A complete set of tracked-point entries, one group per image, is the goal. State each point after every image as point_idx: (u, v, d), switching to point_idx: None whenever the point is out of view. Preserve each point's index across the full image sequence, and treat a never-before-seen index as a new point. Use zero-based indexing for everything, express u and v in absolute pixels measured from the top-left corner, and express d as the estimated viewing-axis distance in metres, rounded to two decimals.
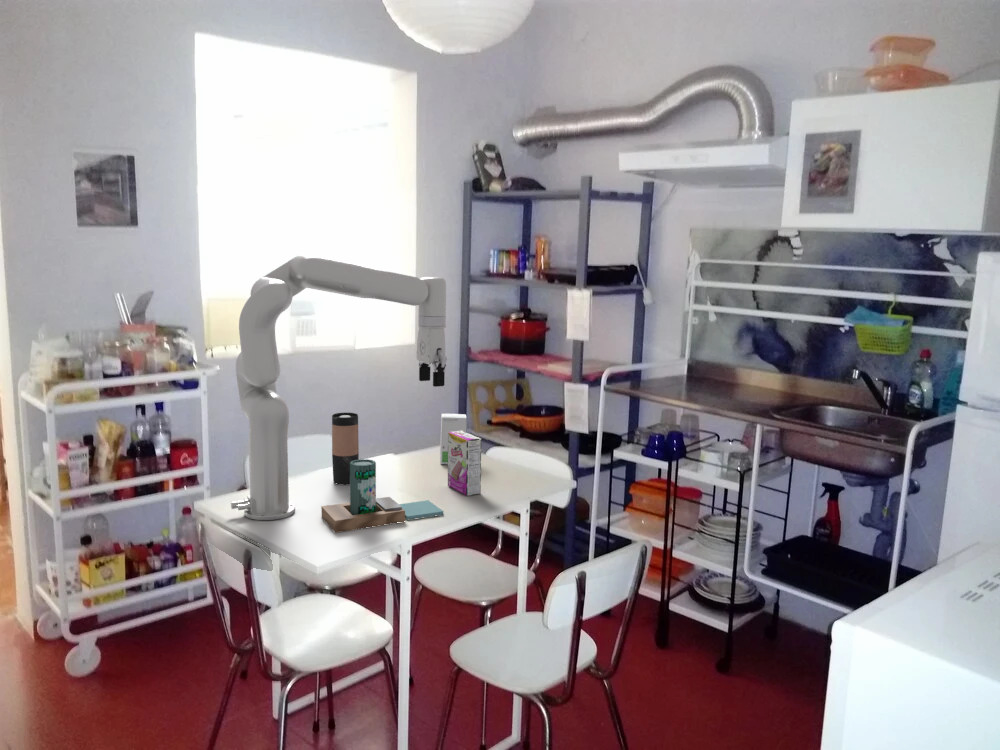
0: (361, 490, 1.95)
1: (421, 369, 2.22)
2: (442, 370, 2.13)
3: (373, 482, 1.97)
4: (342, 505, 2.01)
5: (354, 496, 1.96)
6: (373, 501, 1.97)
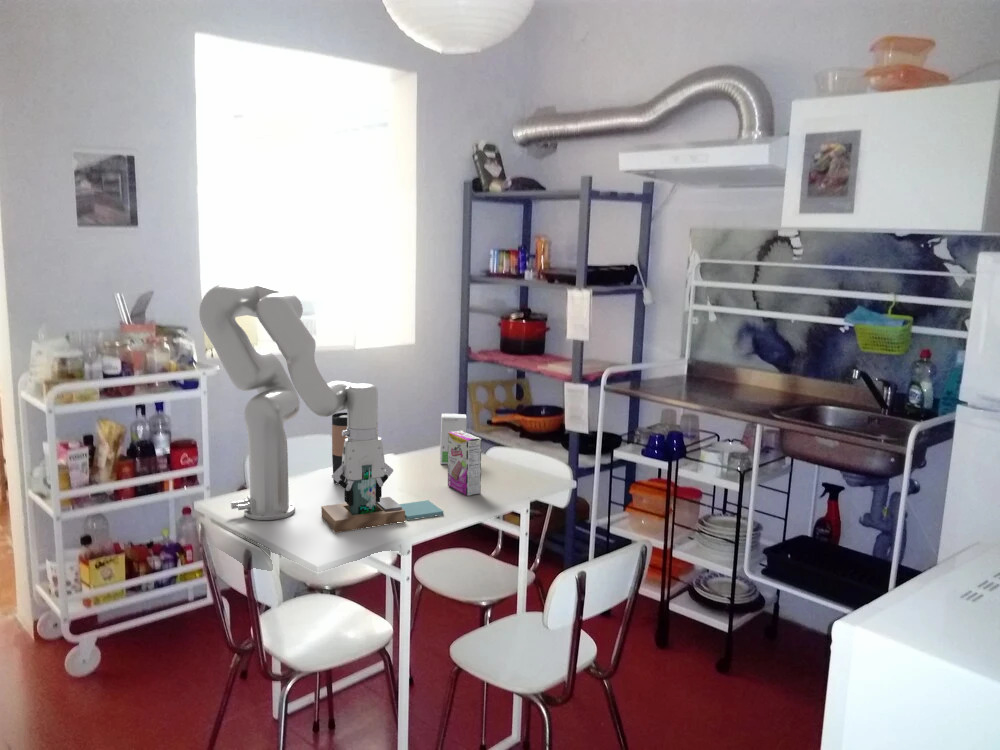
0: (361, 490, 1.95)
1: None
2: None
3: (373, 482, 1.97)
4: (342, 505, 2.01)
5: (354, 496, 1.96)
6: (373, 501, 1.97)
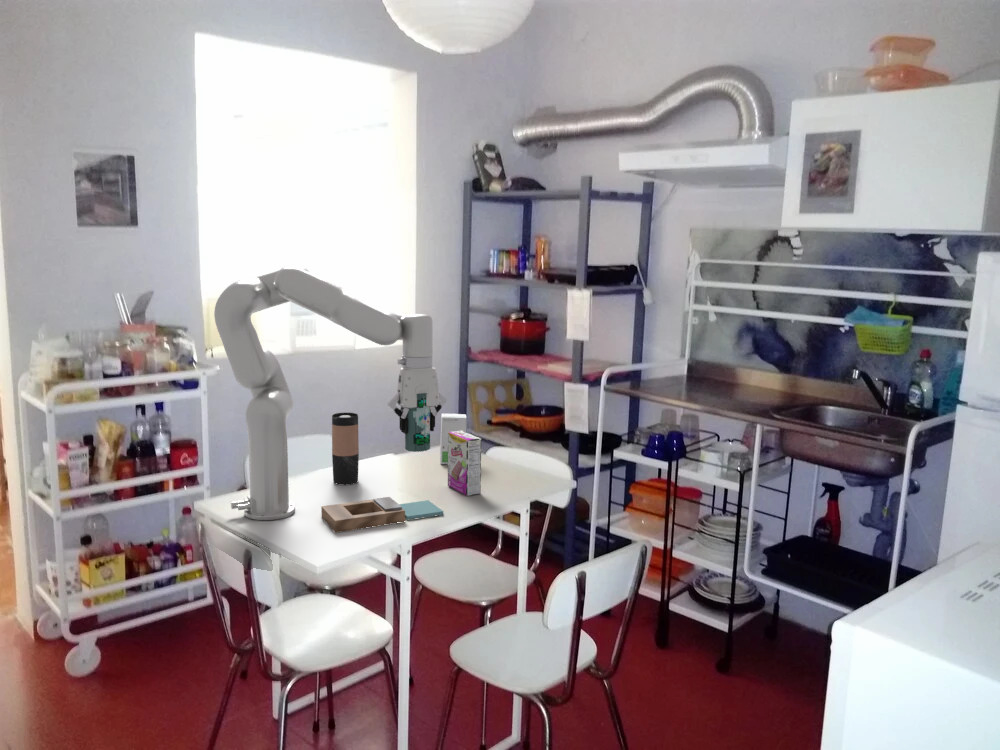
0: (416, 418, 1.99)
1: None
2: None
3: (428, 411, 2.01)
4: (342, 505, 2.01)
5: (409, 424, 2.00)
6: (428, 429, 2.01)
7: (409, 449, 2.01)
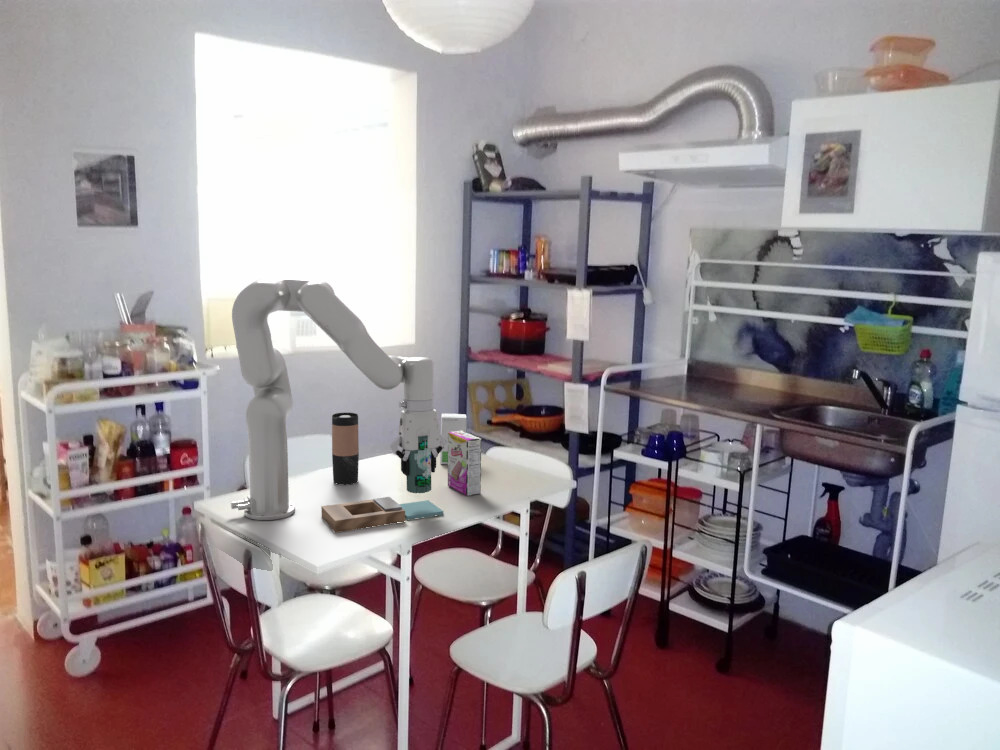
0: (418, 460, 2.01)
1: (408, 462, 2.02)
2: None
3: (429, 452, 2.03)
4: (342, 505, 2.01)
5: (411, 466, 2.02)
6: (429, 471, 2.03)
7: (410, 491, 2.03)
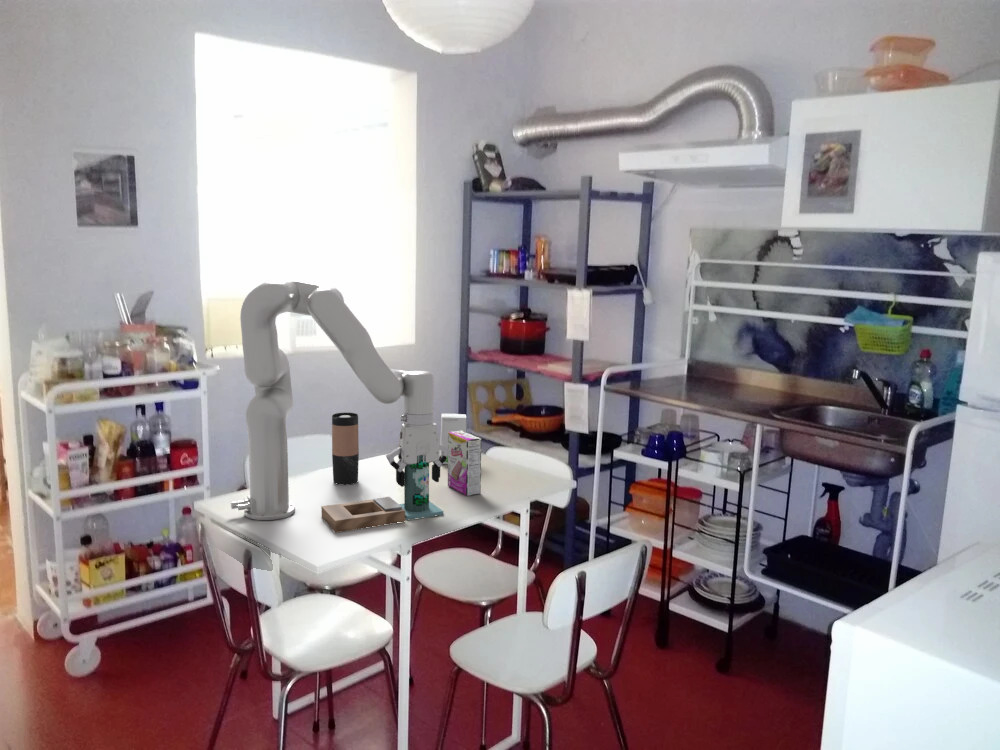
0: (416, 479, 2.02)
1: (403, 473, 2.01)
2: None
3: (427, 471, 2.03)
4: (342, 505, 2.01)
5: (409, 485, 2.02)
6: (427, 490, 2.04)
7: (408, 509, 2.03)
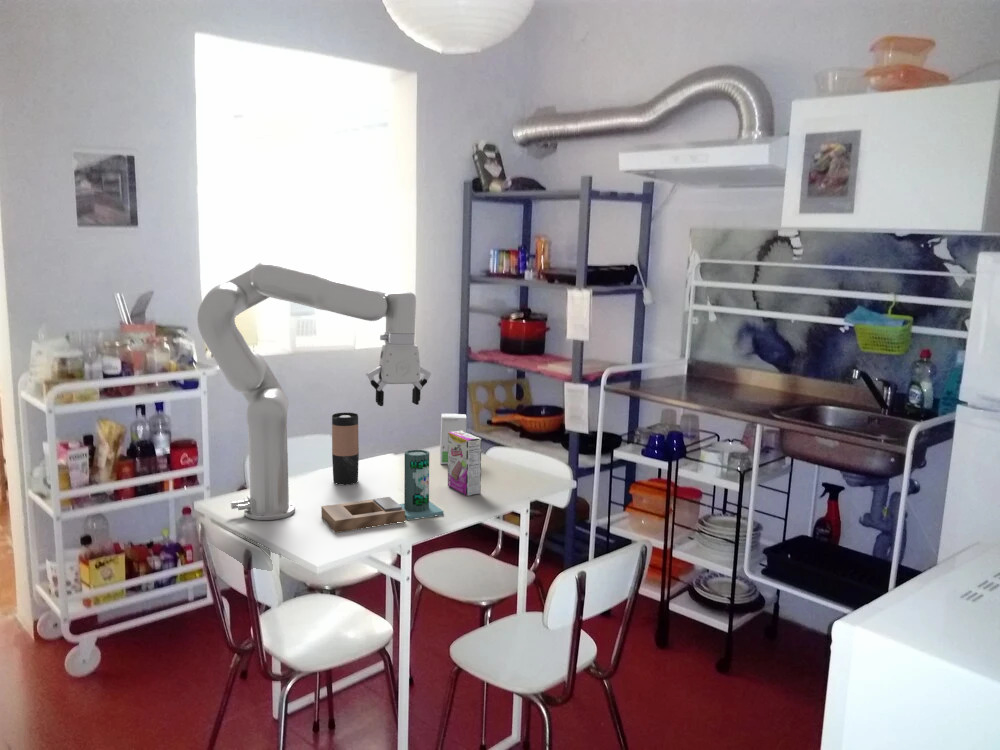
0: (416, 479, 2.02)
1: None
2: None
3: (427, 471, 2.03)
4: (342, 505, 2.01)
5: (409, 485, 2.02)
6: (427, 490, 2.04)
7: (408, 509, 2.03)
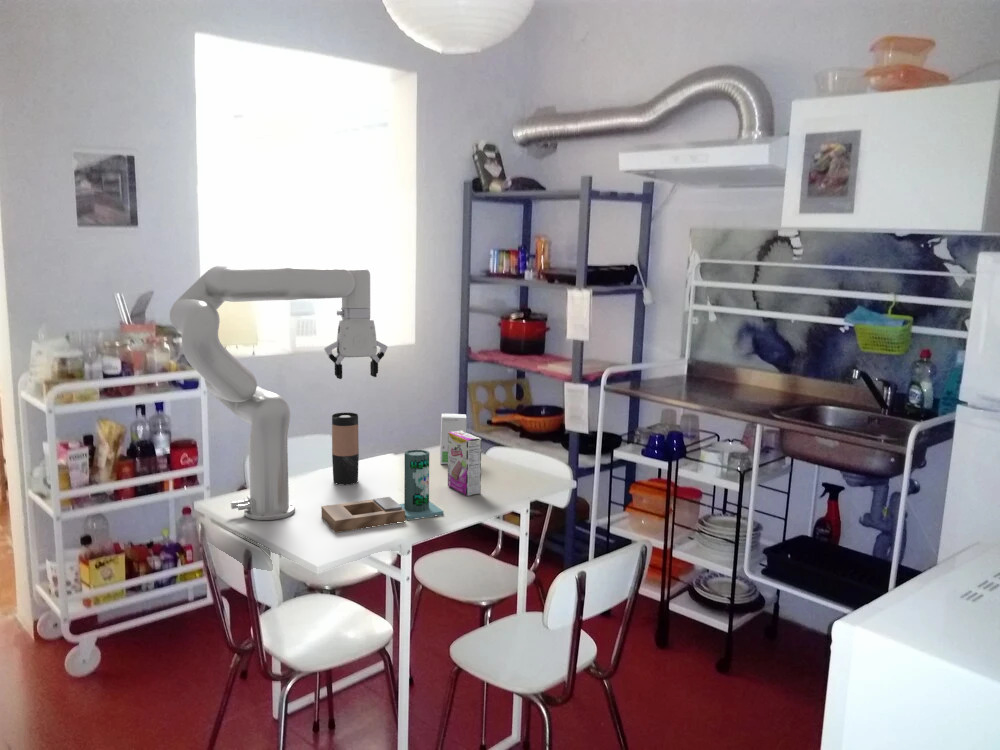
0: (416, 479, 2.02)
1: (341, 366, 2.10)
2: None
3: (427, 471, 2.03)
4: (342, 505, 2.01)
5: (409, 485, 2.02)
6: (427, 490, 2.04)
7: (408, 509, 2.03)
